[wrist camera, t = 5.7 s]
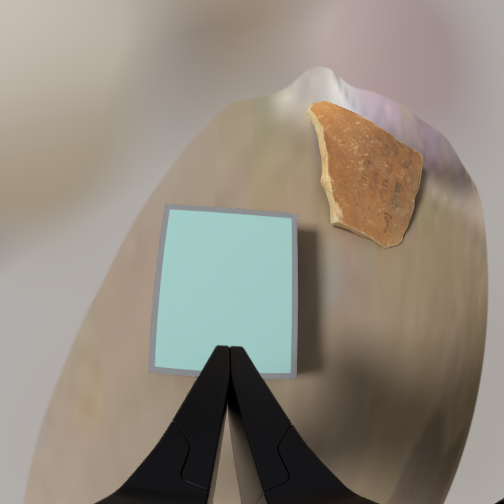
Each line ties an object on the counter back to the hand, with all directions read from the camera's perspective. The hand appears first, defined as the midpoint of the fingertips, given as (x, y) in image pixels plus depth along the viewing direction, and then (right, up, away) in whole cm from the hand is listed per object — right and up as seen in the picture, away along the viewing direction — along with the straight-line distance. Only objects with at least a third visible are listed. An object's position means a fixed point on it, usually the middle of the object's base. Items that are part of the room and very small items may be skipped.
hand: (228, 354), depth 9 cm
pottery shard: (+8, +9, +11) cm, 16 cm away
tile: (-1, -3, +5) cm, 6 cm away
